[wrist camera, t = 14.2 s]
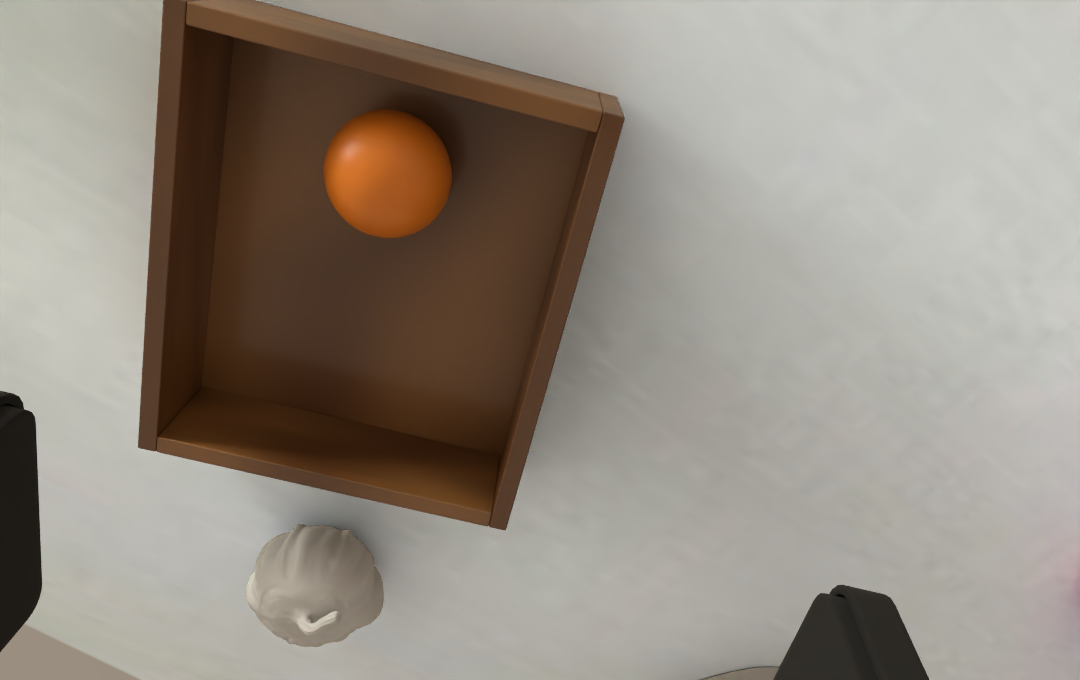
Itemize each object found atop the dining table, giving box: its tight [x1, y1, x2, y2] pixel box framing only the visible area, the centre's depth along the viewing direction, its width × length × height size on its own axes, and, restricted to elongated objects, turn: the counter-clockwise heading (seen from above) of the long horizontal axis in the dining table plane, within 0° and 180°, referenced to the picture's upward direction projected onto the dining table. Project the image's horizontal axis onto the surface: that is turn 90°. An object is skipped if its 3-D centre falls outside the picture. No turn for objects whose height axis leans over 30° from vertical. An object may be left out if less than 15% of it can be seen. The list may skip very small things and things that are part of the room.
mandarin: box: [323, 109, 452, 238], centre depth 29 cm, size 4×4×4 cm
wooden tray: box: [138, 0, 624, 530], centre depth 31 cm, size 14×16×4 cm
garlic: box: [246, 524, 384, 647], centre depth 36 cm, size 6×5×5 cm
